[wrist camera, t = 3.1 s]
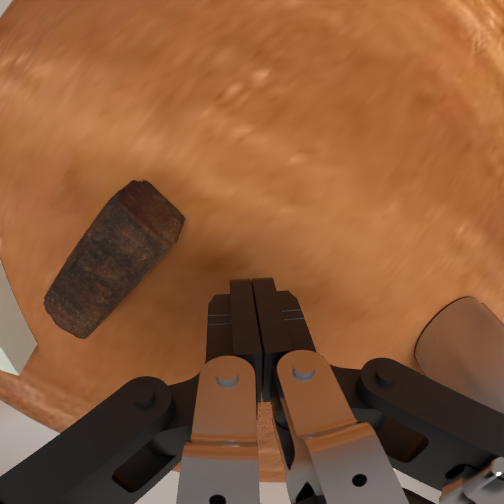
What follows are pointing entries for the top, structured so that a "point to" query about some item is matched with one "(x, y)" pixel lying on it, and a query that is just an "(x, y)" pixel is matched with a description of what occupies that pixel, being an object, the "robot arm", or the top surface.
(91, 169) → the top surface
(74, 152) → the top surface
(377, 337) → the top surface
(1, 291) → the board
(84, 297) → the brick
